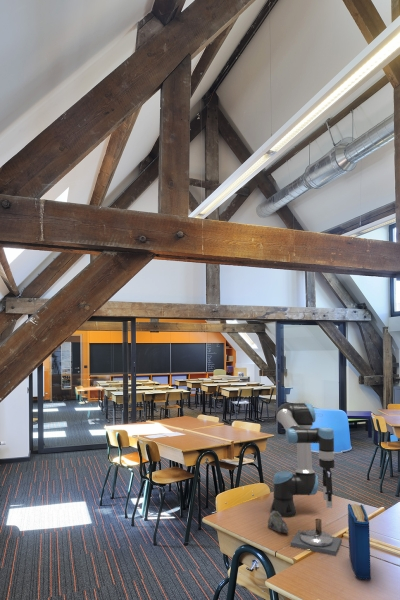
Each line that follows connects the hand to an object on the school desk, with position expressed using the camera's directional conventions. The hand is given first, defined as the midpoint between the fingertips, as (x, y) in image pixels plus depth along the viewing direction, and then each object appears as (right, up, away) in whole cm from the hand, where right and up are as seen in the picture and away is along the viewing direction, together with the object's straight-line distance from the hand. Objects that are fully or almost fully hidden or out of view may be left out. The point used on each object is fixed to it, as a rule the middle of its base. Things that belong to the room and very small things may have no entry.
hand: (327, 503), depth 224 cm
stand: (-6, -20, -2) cm, 21 cm away
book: (+7, -17, -27) cm, 33 cm away
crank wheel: (-6, -18, -1) cm, 19 cm away
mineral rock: (-23, -22, +14) cm, 35 cm away
